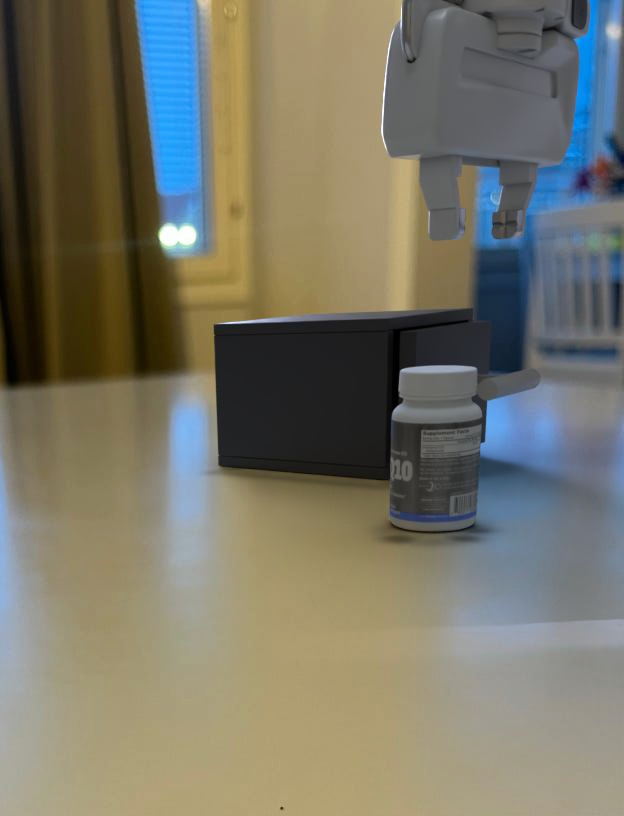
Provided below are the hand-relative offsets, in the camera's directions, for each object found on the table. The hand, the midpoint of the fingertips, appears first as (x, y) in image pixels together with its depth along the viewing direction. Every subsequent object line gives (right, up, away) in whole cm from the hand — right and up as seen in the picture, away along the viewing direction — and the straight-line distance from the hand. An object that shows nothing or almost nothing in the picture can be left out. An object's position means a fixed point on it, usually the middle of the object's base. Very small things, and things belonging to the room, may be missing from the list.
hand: (478, 239), depth 65 cm
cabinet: (-7, -12, +12) cm, 18 cm away
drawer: (-3, -12, +8) cm, 15 cm away
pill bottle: (-6, -20, -10) cm, 23 cm away
